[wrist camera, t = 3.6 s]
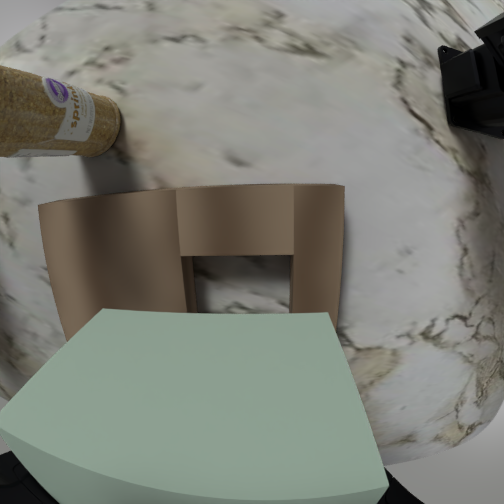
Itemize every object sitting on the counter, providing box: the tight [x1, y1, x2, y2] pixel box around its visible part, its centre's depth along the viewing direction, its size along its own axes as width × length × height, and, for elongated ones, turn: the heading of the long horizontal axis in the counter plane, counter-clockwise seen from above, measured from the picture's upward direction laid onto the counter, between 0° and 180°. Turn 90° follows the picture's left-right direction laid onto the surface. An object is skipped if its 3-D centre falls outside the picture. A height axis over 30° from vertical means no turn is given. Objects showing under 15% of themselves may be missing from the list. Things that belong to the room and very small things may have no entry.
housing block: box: [0, 308, 389, 504], centre depth 7 cm, size 7×7×6 cm
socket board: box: [38, 184, 345, 342], centre depth 19 cm, size 20×14×2 cm
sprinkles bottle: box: [0, 65, 121, 158], centre depth 11 cm, size 5×5×14 cm
